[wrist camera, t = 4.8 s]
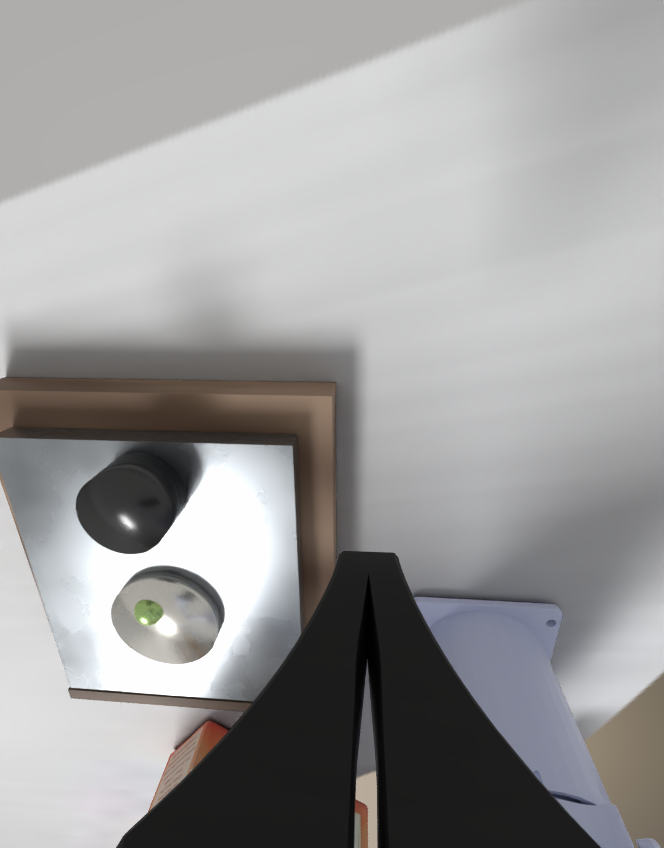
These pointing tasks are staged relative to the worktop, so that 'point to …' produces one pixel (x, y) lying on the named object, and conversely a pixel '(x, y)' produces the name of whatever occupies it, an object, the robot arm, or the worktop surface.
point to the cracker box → (200, 746)
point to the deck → (162, 554)
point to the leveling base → (202, 412)
